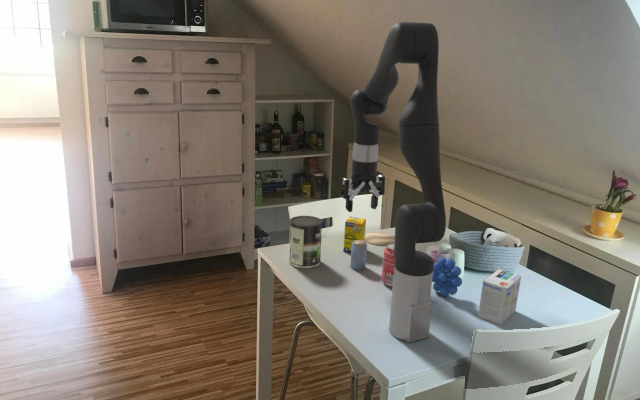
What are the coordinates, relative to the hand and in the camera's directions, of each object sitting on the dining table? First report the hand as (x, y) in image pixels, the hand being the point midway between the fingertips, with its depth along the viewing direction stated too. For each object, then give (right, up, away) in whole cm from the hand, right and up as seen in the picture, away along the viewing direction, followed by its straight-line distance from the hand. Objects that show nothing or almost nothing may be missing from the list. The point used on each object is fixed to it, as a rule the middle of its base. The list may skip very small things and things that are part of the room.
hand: (361, 209), depth 163 cm
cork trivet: (+9, -11, +30) cm, 33 cm away
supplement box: (-1, -14, +19) cm, 24 cm away
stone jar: (-1, -18, +6) cm, 19 cm away
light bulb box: (+35, -28, -19) cm, 49 cm away
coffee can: (-18, -17, +8) cm, 26 cm away
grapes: (+23, -24, -10) cm, 35 cm away
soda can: (+9, -22, -4) cm, 24 cm away
